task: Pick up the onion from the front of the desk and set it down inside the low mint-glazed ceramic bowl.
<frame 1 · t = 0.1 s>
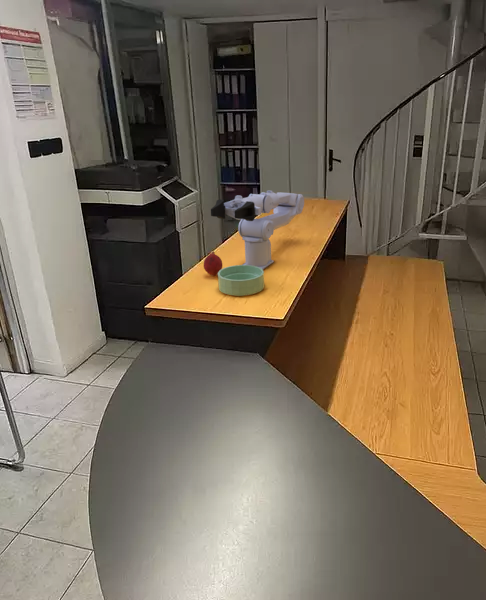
hand: (223, 213, 136), 22 cm above the table, tool horizontal, fingers open, 7 cm apart
bowl: (241, 288, 142), on the table
onion: (213, 276, 151), on the table
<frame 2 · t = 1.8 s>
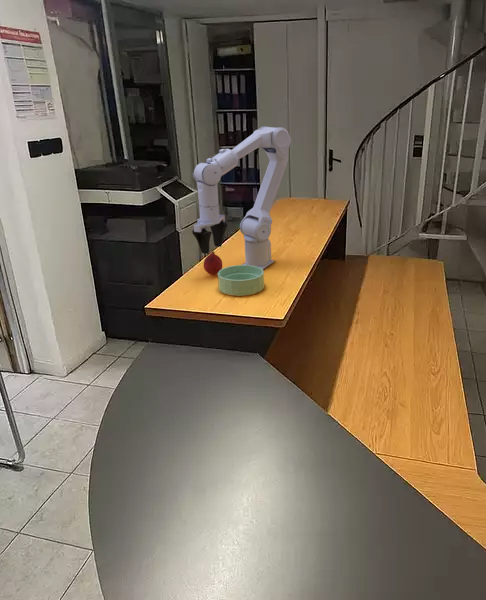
hand: (211, 249, 148), 9 cm above the table, tool pointing down, fingers open, 7 cm apart
nothing on the table moved.
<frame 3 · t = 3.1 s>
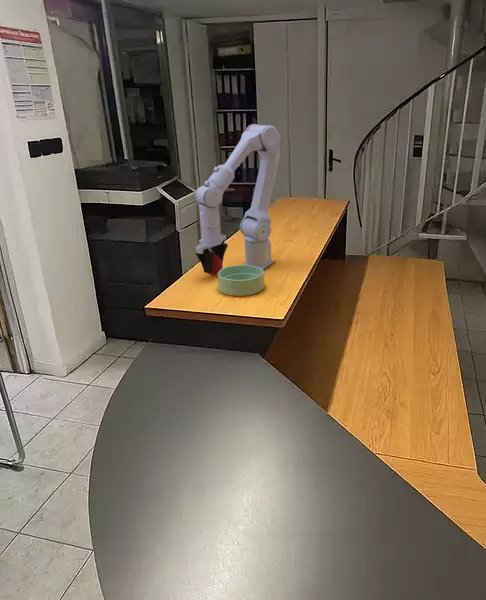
hand: (213, 269, 151), 2 cm above the table, tool pointing down, fingers closed on onion, 6 cm apart
onion: (213, 276, 151), on the table, touching gripper
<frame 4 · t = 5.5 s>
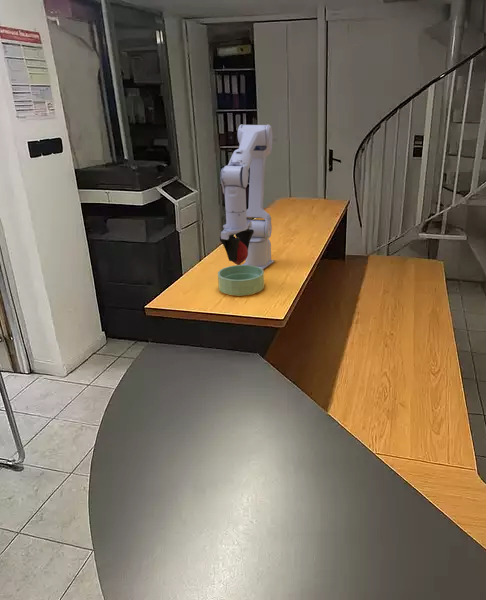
hand: (238, 257, 139), 9 cm above the table, tool pointing down, fingers closed on onion, 6 cm apart
onion: (238, 265, 139), point 7 cm above the table, touching gripper
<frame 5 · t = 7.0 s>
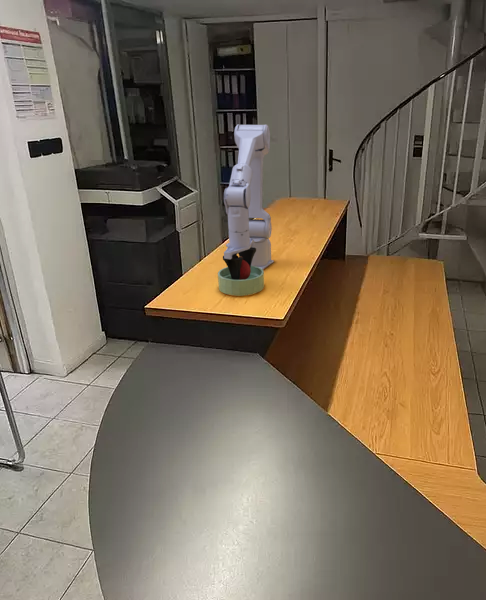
hand: (241, 275, 140), 4 cm above the table, tool pointing down, fingers closed on onion, 6 cm apart
onion: (241, 283, 141), point 2 cm above the table, touching gripper
when the fingers open (3 cm above the table, at t = 8.0 s): onion stays where it is, resting on bowl.
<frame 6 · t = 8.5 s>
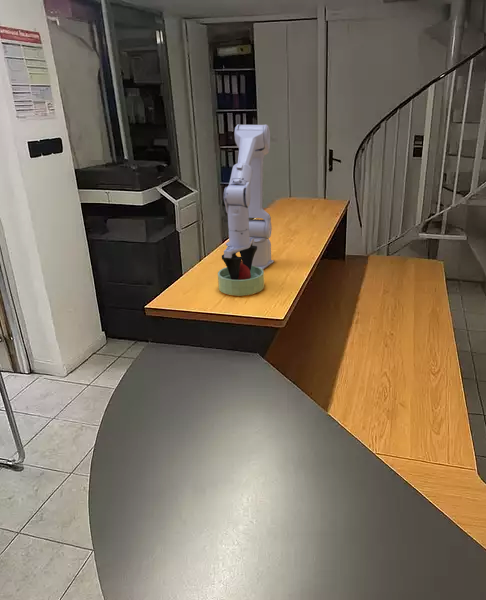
hand: (240, 274, 140), 4 cm above the table, tool pointing down, fingers open, 7 cm apart
onion: (241, 287, 141), resting on bowl
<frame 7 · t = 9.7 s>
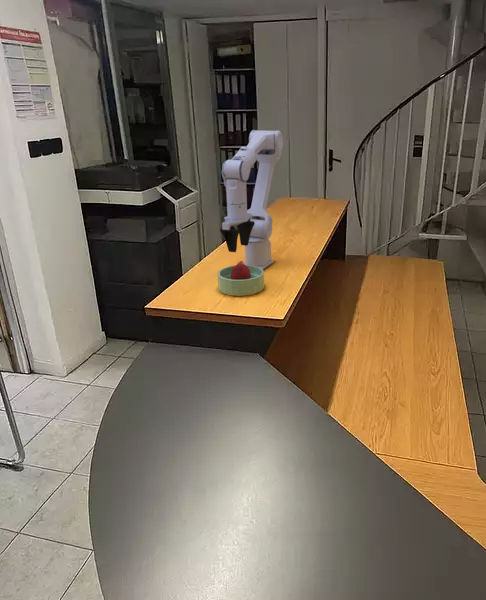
hand: (238, 248, 145), 10 cm above the table, tool pointing down, fingers open, 7 cm apart
nothing on the table moved.
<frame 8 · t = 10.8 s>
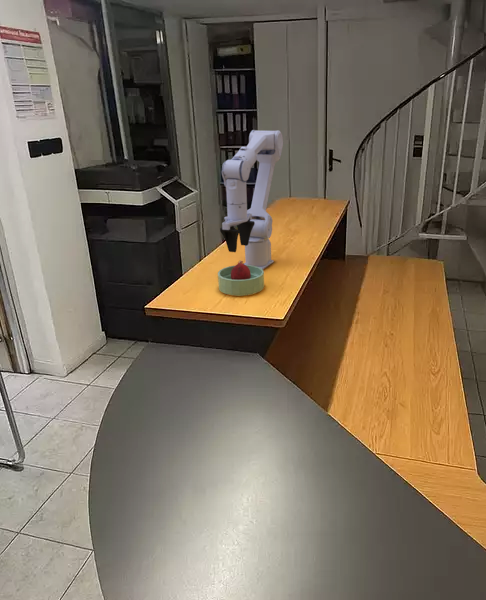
hand: (238, 248, 145), 10 cm above the table, tool pointing down, fingers open, 7 cm apart
nothing on the table moved.
at the end: onion inside the target area in the bowl (0.1 cm from its centre), point 0.3 cm above the bowl's base; the gripper is holding nothing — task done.
